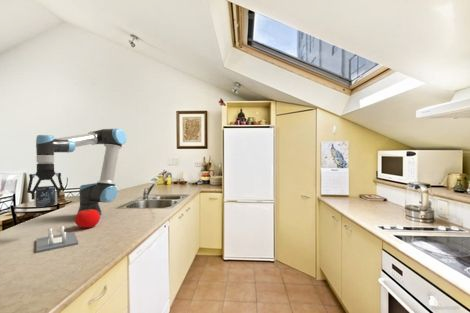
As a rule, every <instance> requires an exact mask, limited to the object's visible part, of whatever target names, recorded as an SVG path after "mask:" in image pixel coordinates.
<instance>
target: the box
mask: <svg viewBox="0 0 470 313" xmlns="http://www.w3.org/2000/svg"><path fill="white" fill-rule="evenodd" d="M55 191H56V189H55V187H54V185H47V186H46V185H45V186H38V187H37V188H36V191H35V193H36V206H35V207H36V208H44V207H54V206H55V205H56V204H55Z"/></svg>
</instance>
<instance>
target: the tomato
mask: <svg viewBox="0 0 470 313" xmlns="http://www.w3.org/2000/svg"><path fill="white" fill-rule="evenodd" d="M77 212H78V211H77ZM100 219H101V215H100V214H99V212H98V211H97V210H94V209H88V210H83V211H80V212H78V214H77V213H76V215H75V217H74V223H75V224H76V225H77V226H78V227H80V228H83V229H85V228H86V229H89V228H93V227H96V225H97V224H98V223H99V222H100Z"/></svg>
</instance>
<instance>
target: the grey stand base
mask: <svg viewBox="0 0 470 313" xmlns="http://www.w3.org/2000/svg"><path fill="white" fill-rule="evenodd" d="M59 230H60V232H59V233H60V234H56V235H54V234H53V228H52V227H50V228H48V230H47V231H48V232H47V233H48V236H43V237H37V238H36V244H35V245H36V247H35V248H36V249H35V252H36V254H39V253H43V252H47V251H51V250H58V249H62V248H67V247H71V246H77V245H79V240H78V239H77V235H76V233H75V231H72V232H66V231H65V226H64V225H63V226H62V225H61V226H60V227H59Z"/></svg>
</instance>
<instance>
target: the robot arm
mask: <svg viewBox="0 0 470 313" xmlns="http://www.w3.org/2000/svg"><path fill="white" fill-rule="evenodd" d="M35 138H36V140H35V147H36V150H35V151H36V152H35V153H36V156H35V157H36V158H35V160H36V172H35V173H30V174H29V175H28V176H29V177H28V178H29V181H28V185H27V191H26V194H27V193H28V194H30V195H31V200H32V201H33V202H34V206H35V207H36V188H37V187H39V185H40V184H41V182H42V181H50V182H51V183H52V186H54V187H55V205H56V204H58V198H60V192H61V191H63V190H64V186H63V182H62V178H61V176H62V173H61V172H56V171H55V164H54V162H55V153H73V152H74V151H75V150H76V148H78V147H82V146H88V145H92V146H95V145H103V146H104V147H105V150H104V157H103V162H102V167H101V172H100V173H101V174H100V176H99V177H100V178H99V180H98V181H97V182H96V183H87V184H81V185H80V186H79V207H78V209H77V213H76V215H77V214H78V212H80V211H83V210H88V209H94V210H97V211H98V212H99V214H100V216H101V215H102V210H101V207H100V204H99V203H108V204H109V203H111V202H114V201H115V199H116V198H117V196H118V188H117V187H116V184H115V182H114V180H115V173H116V168H117V163H118V158H119V150H120V149H122V147H123V145H124V144H125V143H127V140H128V139H127V134H126V133H125V131H124V130H123V129H121V128H101V129H98V130H93V131H89V132H87V133H85V134H79V135H78V134H77V135H71V136H64V137H57V138H54V136H53V135H51V134H50V135H49V134H38V135H36V137H35ZM35 176H36V177H37V178H38V180H37V181H36V184H35V185H34V187H33V189H32V185H33V180H34V178H35ZM54 176H56V177H57V181H58V183H59V186H58V185H57V183H56V181H55V180H54V179H53V177H54ZM31 189H32V190H31Z"/></svg>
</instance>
